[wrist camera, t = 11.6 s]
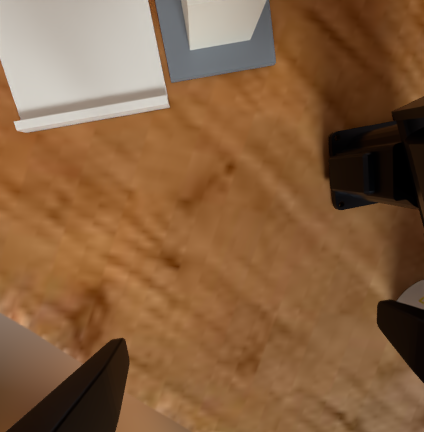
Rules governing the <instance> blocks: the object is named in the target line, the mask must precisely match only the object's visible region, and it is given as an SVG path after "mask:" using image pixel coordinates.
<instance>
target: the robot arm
mask: <svg viewBox="0 0 424 432" xmlns="http://www.w3.org/2000/svg"><path fill="white" fill-rule="evenodd" d="M391 113H392V116H393V120H394V121H392V122H386V123H381V124H375V125H370V126H364V127H359V128H353V129H348V130H342V131H337V132H334V133H332V134H330V136H329V153H330V159H329V172H330V186H331V189H332V195H333V206H334V208H335V209H338V210H344V209H350V208H355V207H360V206H365V205H370V204H375V203H384V204H390V205H395V206H401V207H407V208H413V209H418V210H419V211H420V215H421V219H422V223H423V226H424V97H422V98H419V99H417V100H415V101H413V102H411V103H409V104H407V105H405V106H402V107H400V108H398V109H396V110H394V111H392V112H391ZM335 136H337V141H335V139H334V137H335ZM340 202H341V206H339V203H340ZM377 324H378V327H379V329H380V330H381V331H382V333H383V334H384V335H385V336H386V338H387V339H388V340H389V341H390V343H391V344H392V345H393V346H394V348H395V349H396V350H397V352H398V353H399V354H400V355H401V357H402V358H403V359H404V360H405V362H406V363H407V364H408V366H409V367H410V368H411V369H412V370H413V372H414V373H415V374H416V375H417V376H418V377H419V378H420V380H421V381H422V382H423V383H424V309H421V308H417V307H414V306H411V305H408V304H404V303H401V302H398V301H394V300H384V301H380V302H379V303H378V305H377ZM128 369H129V355H128V350H127V345H126V341H125V339H124V338H118V339H112V340H110V341H109V342H108V343H107V344H106V345H105V346H103V347H102V348H101V349H100V350H99V351H98V352H97V353H95V354H94V355H93V356H92V357H91V358H90V359H89V360H87V361H86V362H85V363H84V364H83V365H82V366H81V367H80V368H78V369H77V370H76V371H75V372H74V373H73V374H72V375H70V376H69V377H68V378H67V379H66V380H65V381H63V382H62V383H61V384H60V385H59V386H58V387H57V388H56V389H54V390H53V391H52V392H51V393H50V394H49V395H48V396H46V397H45V398H44V399H43V400H42V401H41V402H39V403H38V404H37V405H36V406H35V407H34V408H32V409H31V410H30V411H29V412H28V413H27V414H26V415H24V416H23V417H22V418H21V419H20V420H19V421H18V422H16V423H15V424H14V425H13V426H12V427H11V428H10V429H8V430H7V431H6V432H115V431H116V427H117V423H118V419H119V415H120V410H121V405H122V400H123V395H124V390H125V385H126V379H127V374H128Z"/></svg>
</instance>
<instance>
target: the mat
mask: <svg viewBox="0 0 424 432" xmlns="http://www.w3.org/2000/svg"><path fill="white" fill-rule="evenodd" d="M155 2H156V7H157V12H158V17H159V22H160V28H161V33H162V38H163V43H164V48H165V53H166V58H167V63H168V68H169V73H170V78H171V82H172V83H173V82H179V81H184V80H190V79H196V78H202V77H208V76H213V75H219V74H225V73H231V72H237V71H242V70H248V69H254V68H260V67H266V66H271V65H275V63H276V58H275V49H274V40H273V31H272V22H271V13H270V4H269V0H266V3H265V5H264V8H263V10H262V13H261V15H260V18H259V20H258V22H257V25H256V27H255V30H254V32H253V35H252V37H251V39H250V40H247V41H241V42H236V43H230V44H224V45H218V46H212V47H207V48H201V49H195V50H190V48H189V42H188V37H187V31H186V26H185V20H184V15H183V9H182V3H181V0H155Z"/></svg>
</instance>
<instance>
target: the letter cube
mask: <svg viewBox="0 0 424 432" xmlns="http://www.w3.org/2000/svg"><path fill="white" fill-rule="evenodd" d="M181 3H182V9H183V15H184V20H185V26H186V31H187V37H188V42H189V48H190V50H195V49H201V48H207V47H212V46H218V45H224V44H230V43H236V42H241V41H247V40H250V39H251V37H252V35H253V32H254V30H255V27H256V25H257V22H258V20H259V18H260V15H261V13H262V10H263V8H264V5H265V3H266V0H181Z"/></svg>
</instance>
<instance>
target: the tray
mask: <svg viewBox="0 0 424 432" xmlns="http://www.w3.org/2000/svg"><path fill="white" fill-rule="evenodd" d="M0 59H1V62H2V65H3V68H4V71H5V74H6V77H7V80H8V83H9V86H10V89H11V92H12V95H13V98H14V101H15V104H16V107H17V110H18V113H19V116H20V119H21V120H20V121H14V124H15V127H16V130H17V131H21V132H26V133H28V132H34V131H40V130H45V129H51V128H57V127H62V126H68V125H74V124H79V123H85V122H91V121H97V120H102V119H108V118H114V117H119V116H125V115H131V114H136V113H142V112H148V111H153V110H159V109H165V108H170V105H169V100H168V96H167V91H166V86H165V81H164V76H163V71H162V66H161V61H160V56H159V51H158V46H157V42H156V37H155V32H154V27H153V22H152V17H151V12H150V7H149V2H148V0H0Z"/></svg>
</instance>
